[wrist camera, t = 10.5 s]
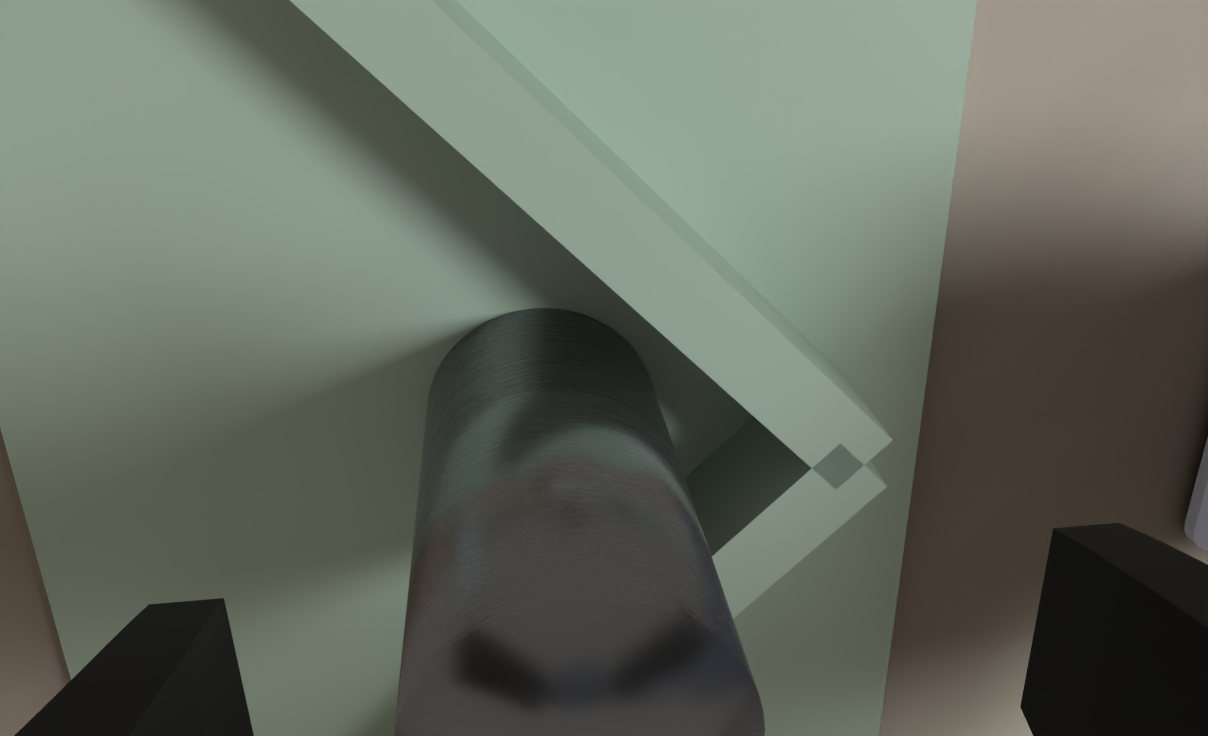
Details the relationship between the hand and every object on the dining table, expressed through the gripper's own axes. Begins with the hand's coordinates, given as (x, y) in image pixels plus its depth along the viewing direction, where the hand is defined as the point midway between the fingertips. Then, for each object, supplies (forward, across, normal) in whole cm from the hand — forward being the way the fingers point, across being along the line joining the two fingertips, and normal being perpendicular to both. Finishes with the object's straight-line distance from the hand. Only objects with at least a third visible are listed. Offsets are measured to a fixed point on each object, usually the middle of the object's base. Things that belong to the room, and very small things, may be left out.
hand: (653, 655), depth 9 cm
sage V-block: (+10, +2, +2) cm, 10 cm away
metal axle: (+9, +1, +2) cm, 10 cm away
